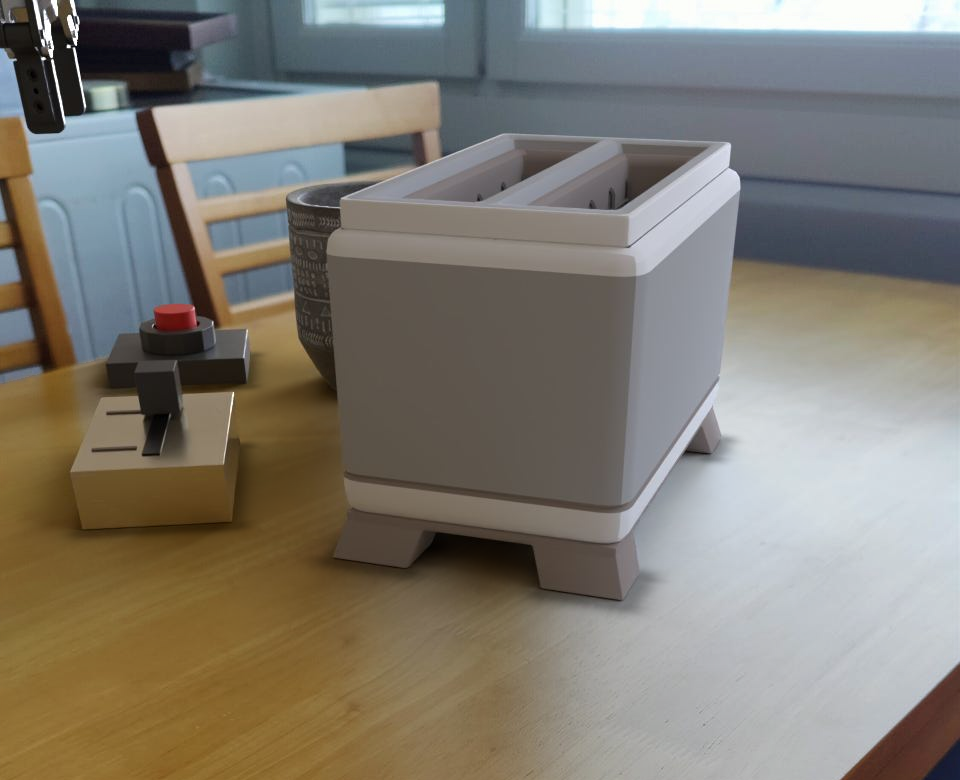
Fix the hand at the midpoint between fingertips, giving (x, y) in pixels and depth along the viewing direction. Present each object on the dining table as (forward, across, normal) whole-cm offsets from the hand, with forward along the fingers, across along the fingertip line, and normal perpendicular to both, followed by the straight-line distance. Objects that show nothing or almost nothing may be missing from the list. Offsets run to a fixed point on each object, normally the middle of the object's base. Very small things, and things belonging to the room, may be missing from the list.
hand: (59, 124), depth 76 cm
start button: (+19, -27, +2) cm, 33 cm away
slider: (+18, -2, +3) cm, 19 cm away
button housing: (+22, -27, +2) cm, 35 cm away
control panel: (+23, +2, +3) cm, 23 cm away
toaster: (+23, +6, +31) cm, 39 cm away
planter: (+23, -21, +20) cm, 37 cm away
